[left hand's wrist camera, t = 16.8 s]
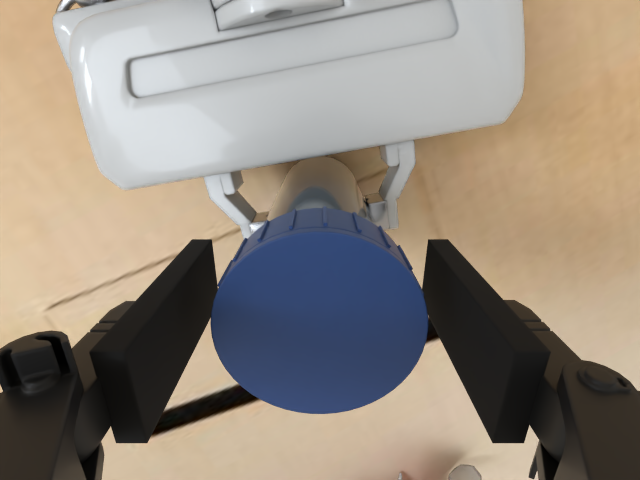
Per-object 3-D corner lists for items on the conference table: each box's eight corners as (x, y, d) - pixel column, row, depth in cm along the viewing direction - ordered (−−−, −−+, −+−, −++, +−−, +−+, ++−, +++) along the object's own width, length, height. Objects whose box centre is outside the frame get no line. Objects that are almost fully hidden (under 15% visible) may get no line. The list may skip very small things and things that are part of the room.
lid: (251, 378, 14) (239, 427, 12) (203, 222, 11) (177, 250, 9) (417, 355, 13) (436, 402, 11) (403, 189, 11) (422, 210, 9)
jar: (276, 159, 25) (214, 244, 10) (355, 151, 24) (408, 227, 10) (286, 233, 27) (247, 392, 12) (359, 226, 26) (408, 380, 12)
